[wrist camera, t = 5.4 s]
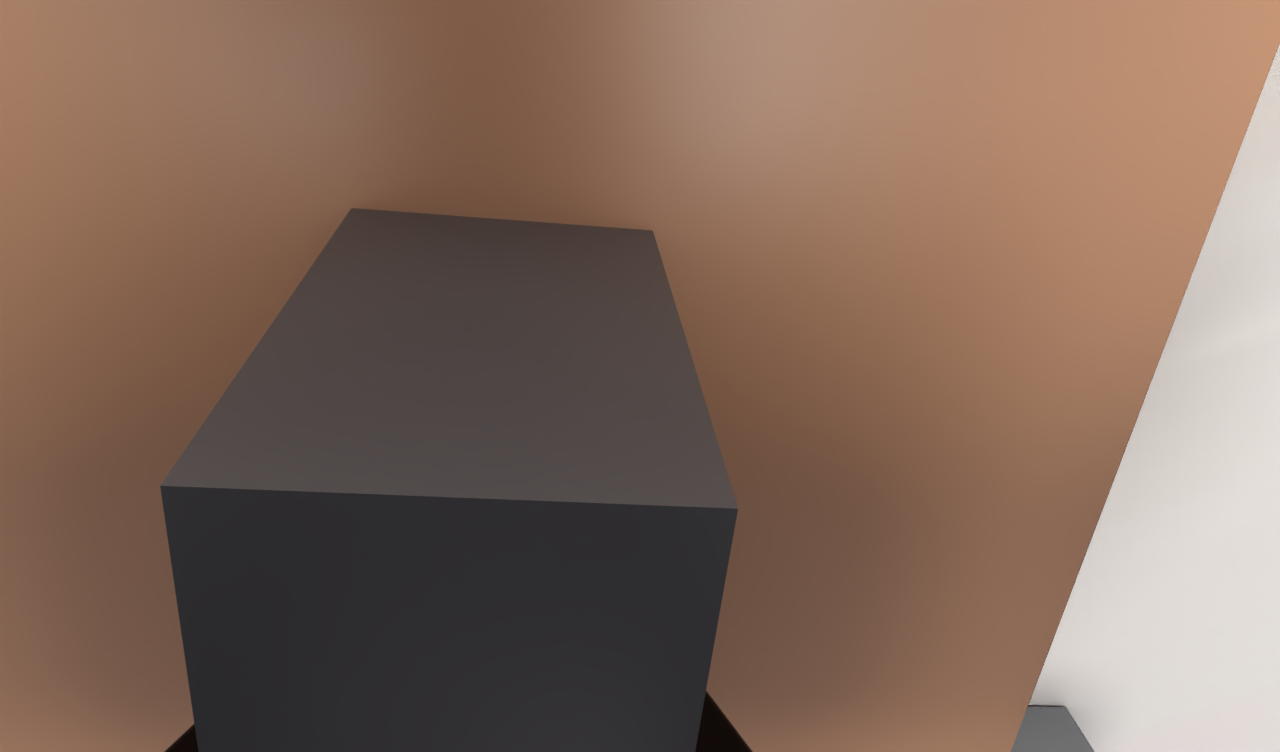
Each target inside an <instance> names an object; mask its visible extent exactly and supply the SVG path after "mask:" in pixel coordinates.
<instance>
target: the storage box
mask: <svg viewBox="0 0 1280 752" xmlns="http://www.w3.org/2000/svg"><path fill="white" fill-rule="evenodd" d="M1011 752H1094V750H1093V749H1092V747H1091V746H1090V744H1089V743H1088V741H1087V739H1086V738H1085V736H1084V735H1083V733H1082V732H1081V730H1080V728H1079V727H1078V725H1077V724H1076V722H1075V721H1074V719H1073V717H1072V716H1071V714H1070V713H1069V711H1068V710H1067V708H1066V707H1033V706H1028V707H1027V710H1026V712H1025V715H1024V718H1023V720H1022V723H1021V726H1020V728H1019V731H1018V733H1017V736H1016V739H1015V741H1014V744H1013V747H1012V749H1011Z"/></svg>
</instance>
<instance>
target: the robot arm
mask: <svg viewBox="0 0 1280 752" xmlns="http://www.w3.org/2000/svg"><path fill="white" fill-rule="evenodd" d="M164 752H198V745H197V739H196V732H195V725H194V724H193V725H192V726H191V727H190V728H189V729H188V730H187V731H185V732H184V733H183V734H182V735H181V736H180V737H179V738H178V739H177V740H176V741H175V742H174V743H173V744H172V745H171V746H170V747H168V748H167V749H166V750H165V751H164ZM695 752H753V751H752V750H751V749H750V747H749V746H748V745H747V743H746V742H745V741H744V739H743V738H742V737H741V735H740V734H739V733H738V732H737V730H736V729H735V728H734V726H733V725H732V724H731V722H730V721H729V720H728V718H727V717H726V716H725V714H724V713H723V712H722V710H721V709H720V708H719V706H718V705H717V704H716V702H715V701H714V700H713V698H712V697H711V696H710V694H709V693H708V692H707V690H706V693H705V699H704V705H703V710H702V716H701V722H700V727H699V733H698V739H697V744H696V750H695Z"/></svg>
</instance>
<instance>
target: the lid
mask: <svg viewBox="0 0 1280 752" xmlns="http://www.w3.org/2000/svg"><path fill="white" fill-rule="evenodd" d="M1279 44H1280V0H0V752H164V751H165V750H166V749H167V748H168V747H170V746H171V745H172V744H173V743H174V742H175V741H176V740H177V739H178V738H179V737H180V736H181V735H182V734H183V733H184V732H185V731H187V730H188V729H189V728H190V727H191V726H192V725H193V724H194V725H195V732H196V739H197V745H198V752H695V750H696V744H697V739H698V733H699V727H700V722H701V716H702V710H703V705H704V699H705V693H706V690H707V692H708V693H709V694H710V696H711V697H712V698H713V700H714V701H715V702H716V704H717V705H718V706H719V708H720V709H721V710H722V712H723V713H724V714H725V716H726V717H727V718H728V720H729V721H730V722H731V724H732V725H733V726H734V728H735V729H736V730H737V732H738V733H739V734H740V735H741V737H742V738H743V739H744V741H745V742H746V743H747V745H748V746H749V747H750V749H751V750H752V751H753V752H1011V749H1012V747H1013V744H1014V741H1015V739H1016V736H1017V733H1018V731H1019V728H1020V726H1021V723H1022V720H1023V718H1024V715H1025V712H1026V710H1027V707H1028V704H1029V702H1030V699H1031V697H1032V694H1033V691H1034V689H1035V686H1036V683H1037V681H1038V678H1039V675H1040V673H1041V670H1042V668H1043V665H1044V662H1045V660H1046V657H1047V654H1048V652H1049V649H1050V647H1051V644H1052V641H1053V639H1054V636H1055V633H1056V631H1057V628H1058V625H1059V623H1060V620H1061V618H1062V615H1063V612H1064V610H1065V607H1066V604H1067V602H1068V599H1069V597H1070V594H1071V591H1072V589H1073V586H1074V583H1075V581H1076V578H1077V575H1078V573H1079V570H1080V568H1081V565H1082V562H1083V560H1084V557H1085V554H1086V552H1087V549H1088V547H1089V544H1090V541H1091V539H1092V536H1093V533H1094V531H1095V528H1096V525H1097V523H1098V520H1099V518H1100V515H1101V512H1102V510H1103V507H1104V504H1105V502H1106V499H1107V497H1108V494H1109V491H1110V489H1111V486H1112V483H1113V481H1114V478H1115V475H1116V473H1117V470H1118V468H1119V465H1120V462H1121V460H1122V457H1123V454H1124V452H1125V449H1126V447H1127V444H1128V441H1129V439H1130V436H1131V433H1132V431H1133V428H1134V425H1135V423H1136V420H1137V418H1138V415H1139V412H1140V410H1141V407H1142V404H1143V402H1144V399H1145V397H1146V394H1147V391H1148V389H1149V386H1150V383H1151V381H1152V378H1153V375H1154V373H1155V370H1156V368H1157V365H1158V362H1159V360H1160V357H1161V354H1162V352H1163V349H1164V347H1165V344H1166V341H1167V339H1168V336H1169V333H1170V331H1171V328H1172V325H1173V323H1174V320H1175V318H1176V315H1177V312H1178V310H1179V307H1180V304H1181V302H1182V299H1183V297H1184V294H1185V291H1186V289H1187V286H1188V283H1189V281H1190V278H1191V275H1192V273H1193V270H1194V268H1195V265H1196V262H1197V260H1198V257H1199V254H1200V252H1201V249H1202V247H1203V244H1204V241H1205V239H1206V236H1207V233H1208V231H1209V228H1210V225H1211V223H1212V220H1213V218H1214V215H1215V212H1216V210H1217V207H1218V204H1219V202H1220V199H1221V196H1222V194H1223V191H1224V189H1225V186H1226V183H1227V181H1228V178H1229V175H1230V173H1231V170H1232V168H1233V165H1234V162H1235V160H1236V157H1237V154H1238V152H1239V149H1240V146H1241V144H1242V141H1243V139H1244V136H1245V133H1246V131H1247V128H1248V125H1249V123H1250V120H1251V118H1252V115H1253V112H1254V110H1255V107H1256V104H1257V102H1258V99H1259V96H1260V94H1261V91H1262V89H1263V86H1264V83H1265V81H1266V78H1267V75H1268V73H1269V70H1270V68H1271V65H1272V62H1273V60H1274V57H1275V54H1276V52H1277V49H1278V46H1279Z"/></svg>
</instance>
